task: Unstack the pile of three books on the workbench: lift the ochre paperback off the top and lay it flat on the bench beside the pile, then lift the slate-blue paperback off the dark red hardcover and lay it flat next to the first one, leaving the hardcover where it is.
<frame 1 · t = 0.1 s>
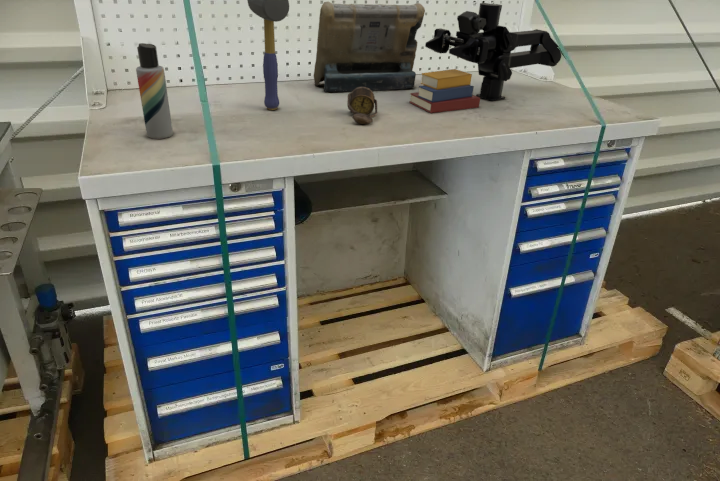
hand: (437, 47, 141), 17 cm above the table, tool horizontal, fingers open, 9 cm apart
tablet: (366, 87, 167), on the table
top book: (445, 84, 151), point 6 cm above the table, touching middle book
lotion bottle: (160, 135, 121), on the table
middle book: (445, 96, 150), point 3 cm above the table, touching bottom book, top book
rubber mallet: (272, 109, 142), on the table
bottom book: (443, 105, 153), on the table, touching middle book
brown round dial piece: (359, 118, 139), on the table
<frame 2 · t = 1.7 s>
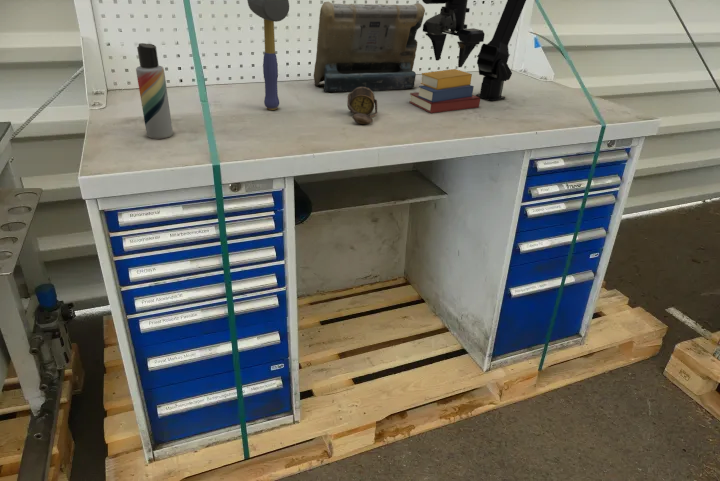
hand: (448, 63, 148), 12 cm above the table, tool pointing down, fingers open, 9 cm apart
nothing on the table moved.
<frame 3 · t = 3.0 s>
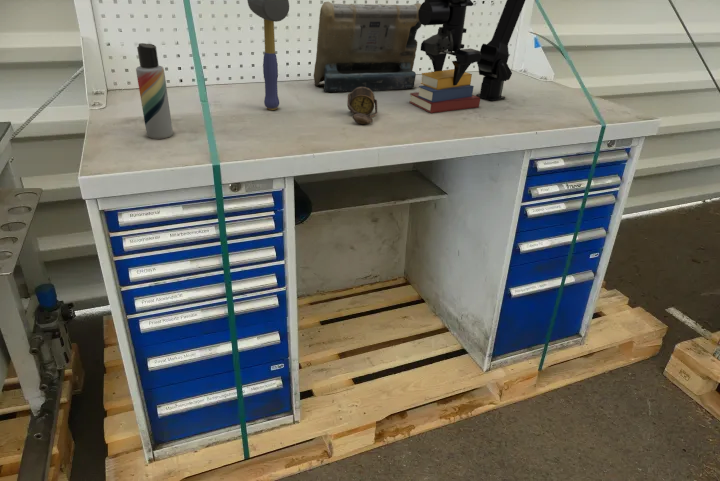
hand: (445, 82, 150), 6 cm above the table, tool pointing down, fingers closed on top book, 7 cm apart
top book: (445, 84, 151), point 6 cm above the table, touching gripper, middle book
everything else where it was.
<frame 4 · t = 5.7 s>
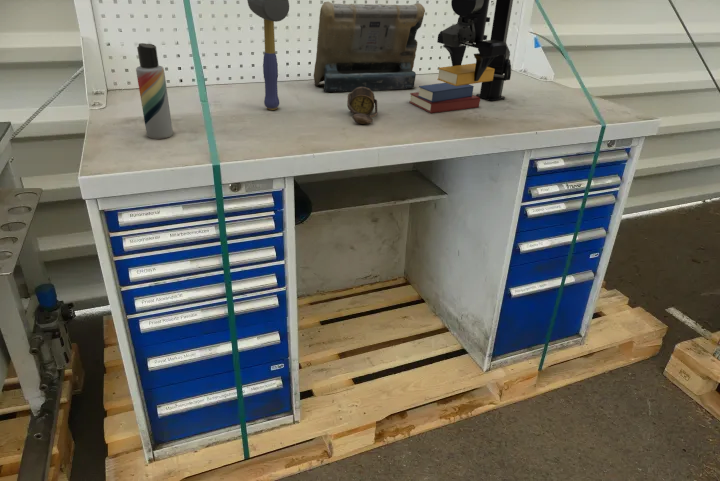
hand: (465, 77, 135), 11 cm above the table, tool pointing down, fingers closed on top book, 7 cm apart
top book: (465, 80, 135), point 11 cm above the table, touching gripper
middle book: (445, 96, 150), point 3 cm above the table, touching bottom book
everything else where it was.
when the fingers open (1 cm above the table, at t = 8.7 s): top book stays where it is, on the table.
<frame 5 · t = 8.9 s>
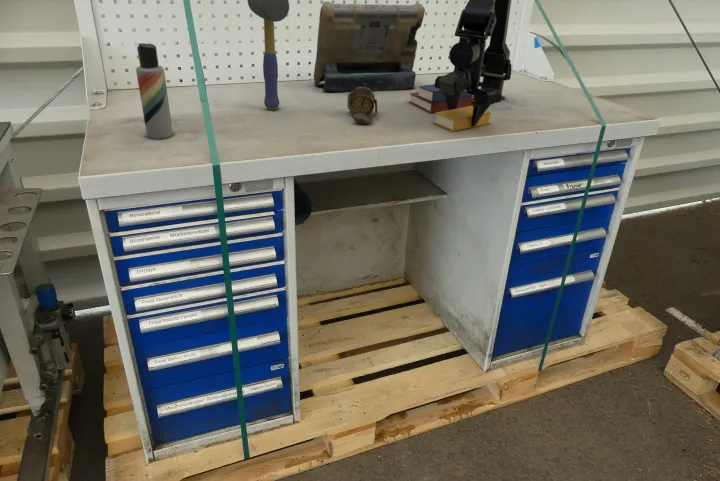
hand: (462, 121, 138), 1 cm above the table, tool pointing down, fingers open, 8 cm apart
top book: (461, 123, 139), on the table
everything else where it was.
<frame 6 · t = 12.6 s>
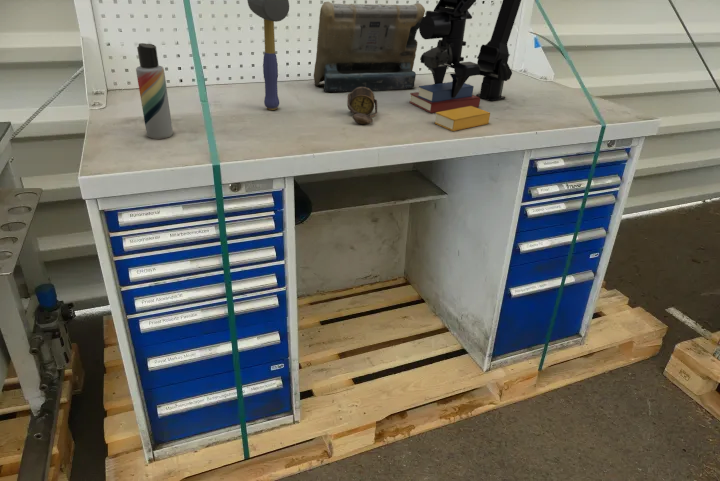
hand: (445, 94, 150), 3 cm above the table, tool pointing down, fingers closed on middle book, 6 cm apart
middle book: (445, 96, 150), point 3 cm above the table, touching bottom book, gripper
everything else where it was.
when the fingers open (1 cm above the table, at t = 18.3 s): middle book stays where it is, on the table.
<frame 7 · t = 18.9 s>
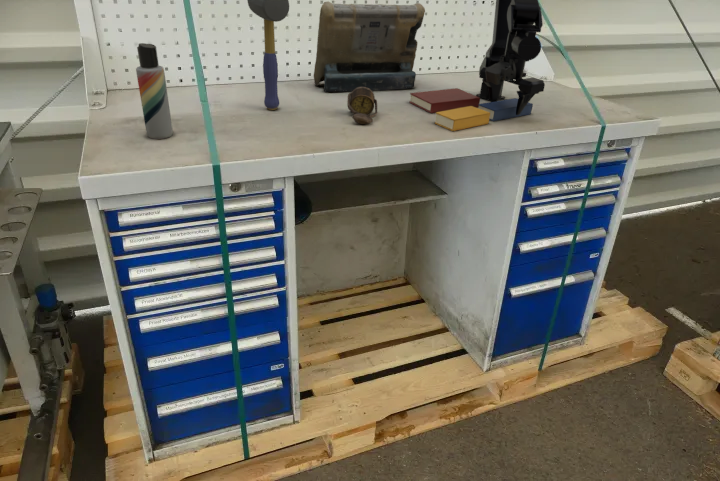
hand: (505, 110, 147), 1 cm above the table, tool pointing down, fingers open, 9 cm apart
middle book: (503, 114, 148), on the table
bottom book: (443, 104, 153), on the table
everything else where it was.
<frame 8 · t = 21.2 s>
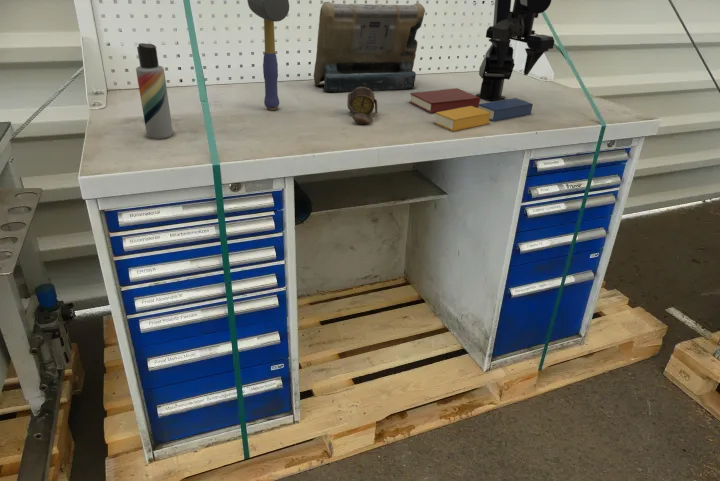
hand: (512, 71, 141), 12 cm above the table, tool pointing down, fingers open, 9 cm apart
nothing on the table moved.
at the end: top book inside the target area (0.1 cm from its centre), on the table; middle book inside the target area (0.1 cm from its centre), on the table; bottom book moved 0.0 cm from its start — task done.
